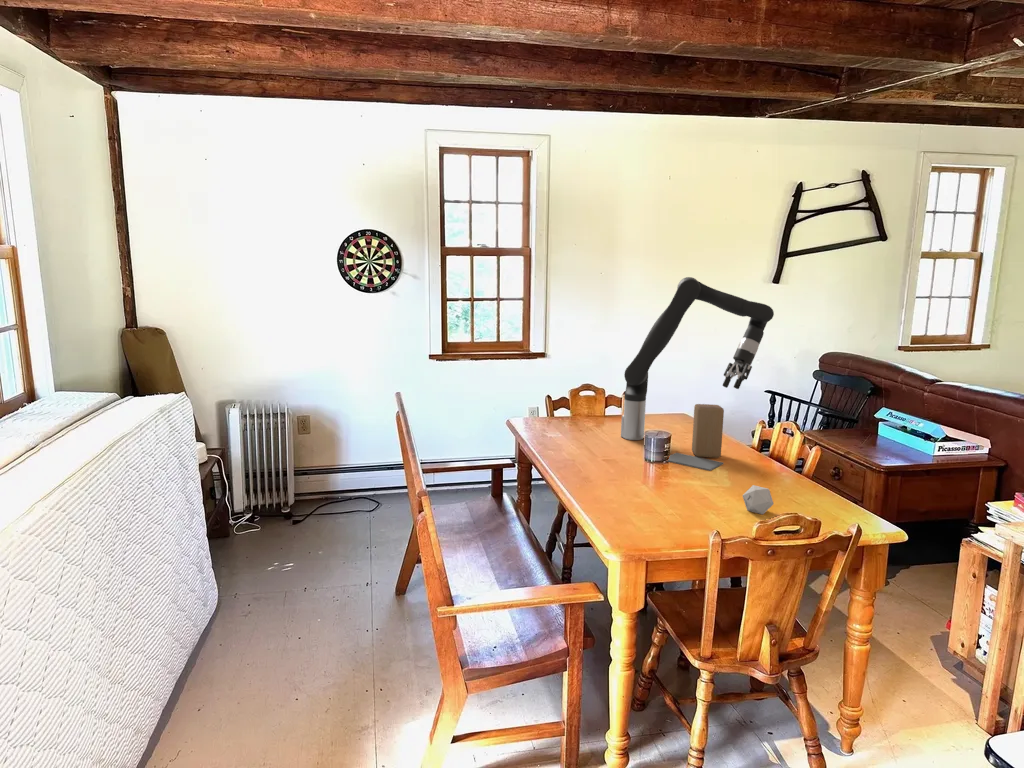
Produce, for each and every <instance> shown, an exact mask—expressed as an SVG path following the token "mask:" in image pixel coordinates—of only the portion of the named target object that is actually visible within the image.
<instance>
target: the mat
mask: <svg viewBox="0 0 1024 768" xmlns="http://www.w3.org/2000/svg"><path fill="white" fill-rule="evenodd" d="M667 462H668V463H673V464H678V465H681V466H686V467H691V468H693V469H694V468H695V469H699V470H704V471H709V472H711V471H714V470H715V469H717V468H718V467H720V466H723V465H724V462H723V461H717V460H713V459H709V458H705V457H697V456H695V455H691V454H685V453H680V452H674V453H672V454H670V457H669V459H668V461H667Z"/></svg>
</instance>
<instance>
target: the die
mask: <svg viewBox="0 0 1024 768" xmlns="http://www.w3.org/2000/svg"><path fill="white" fill-rule="evenodd" d="M741 496H742V500H743V501H744V505H745V507H746V511H748V512H751V513H756V514H759V515H764V514H765V513H766V512H767V511H768V510H769V509H770V508H771V507H772V506H773V505H774V501H773V497H772V494H771V491H770V488H768V487H761V486H759V485H754V484H752V485H751V487H749V488H748V490H746V491H745V492H744V493H743V494H742V495H741Z"/></svg>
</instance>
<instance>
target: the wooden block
mask: <svg viewBox="0 0 1024 768" xmlns="http://www.w3.org/2000/svg"><path fill="white" fill-rule="evenodd" d="M693 407H694V409H693V424H692V426H693V427H692V442H691V452H692V453H693V455H694V456H695V457H700V458H716V459H717V458H719V459H720V458H721V456H722V447H723V446H722V444H723V443H722V442H723V429H724V428H723V427H724V426H723V425H724V418H725V417H724V413H725V410H724V408H723V407H722V406H721V405H719V404H705V403H702V404H701V403H696V404H695V405H694V406H693Z"/></svg>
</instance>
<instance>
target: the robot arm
mask: <svg viewBox="0 0 1024 768" xmlns="http://www.w3.org/2000/svg"><path fill="white" fill-rule="evenodd" d="M695 301H701V302H704V303H707V304H710V305H712V306H715V307H716V308H719V309H721V310H723V311H726V312H728V313H729V314H730V313H731V314H733V315H736V316H739V317H744V318H745V317H748V318H750V319H749V321H748V325H747V328H746V330H745V332H744V333H743V336H742V338H741V340H740V342H739V344H738V346H737V348H736V351H735V353H734V355H733V357H732V359H733V360H734V362H733V363H732V362H729V363H728V365H727V366H726V368H725V370H724V373H723V376H724V377H725V379H724V380H723V383H722V386H723V387H724V388H728V387H729V385H730V383H731V381H732V379H733V378H735V377H736V376H737V378H736V380H735V383H734V385H733V388H734V389H737V390H739V389H740V388H741V385H742V383H743V382H744V381H745V380H746V381H747V379H748V378H749V375H750V373H751V370H752V369H753V366H752V364H753V361H754V359H755V356H756V355H757V353H758V349H759V346H760V344H761V341H762V339H763V336H764V334H765V333H764V330H765V328H766V326H767V325H768V322H770V321H771V320H773V317H774V316H775V314H774V312H775V311H774V309H773V308H772V307H771V306H770V305H767V304H765V303H762V302H757V301H752V300H748V299H745V298H743V297H740V296H736V295H734V294H731V293H727V292H724V291H721V290H718V289H716V288H712V287H710V286H709V285H706V284H705V283H703V282H701V281H699V280H697V279H696V278H694V277H690V276H687V277H684V278H682V279H681V280H679V282H678V284H677V289H676V291H675V294H674V296H673V297H672V299H671V301H670V302H669V304H668V306H667V307H666V308H665V310H664V311H663V312H662V313H661V314H660V315H659V316H658V318H657V319H656V320H655V322H654V324H653V325H652V327H651V328H650V329H649V332H648V334H647V335H646V337H645V339H644V341H643V343H642V345H641V348H640V349H639V351H638V353H637V354H636V355H635V357H634V358H633V360H632V361H631V363H629V364H628V366H627V367H626V369H625V370H624V373H623V374H624V380H625V382H626V386H625V391H624V397H623V398H624V402H623V408H624V409H623V415H621V422H620V424H621V425H620V437H621V438H623V439H625V440H630V441H640V440H644V439H643V437H644V438H645V424H646V422H645V421H646V405H647V400H646V399H647V394H648V384H649V370H650V368H651V367H652V364H653V363H654V362H655V360H656V359H657V358H658V356H659V355H660V354H661V353H662V352H663V350H665V348H666V347H667V346H668V344H669V343H670V341H671V339H672V338H673V336H674V334H675V333H676V331H677V330H678V327H679V325H680V324H681V322H682V319H683V317H684V315H685V314H686V312H687V311H688V310H689V309H690V307H691V305H693V303H694V302H695Z"/></svg>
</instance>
